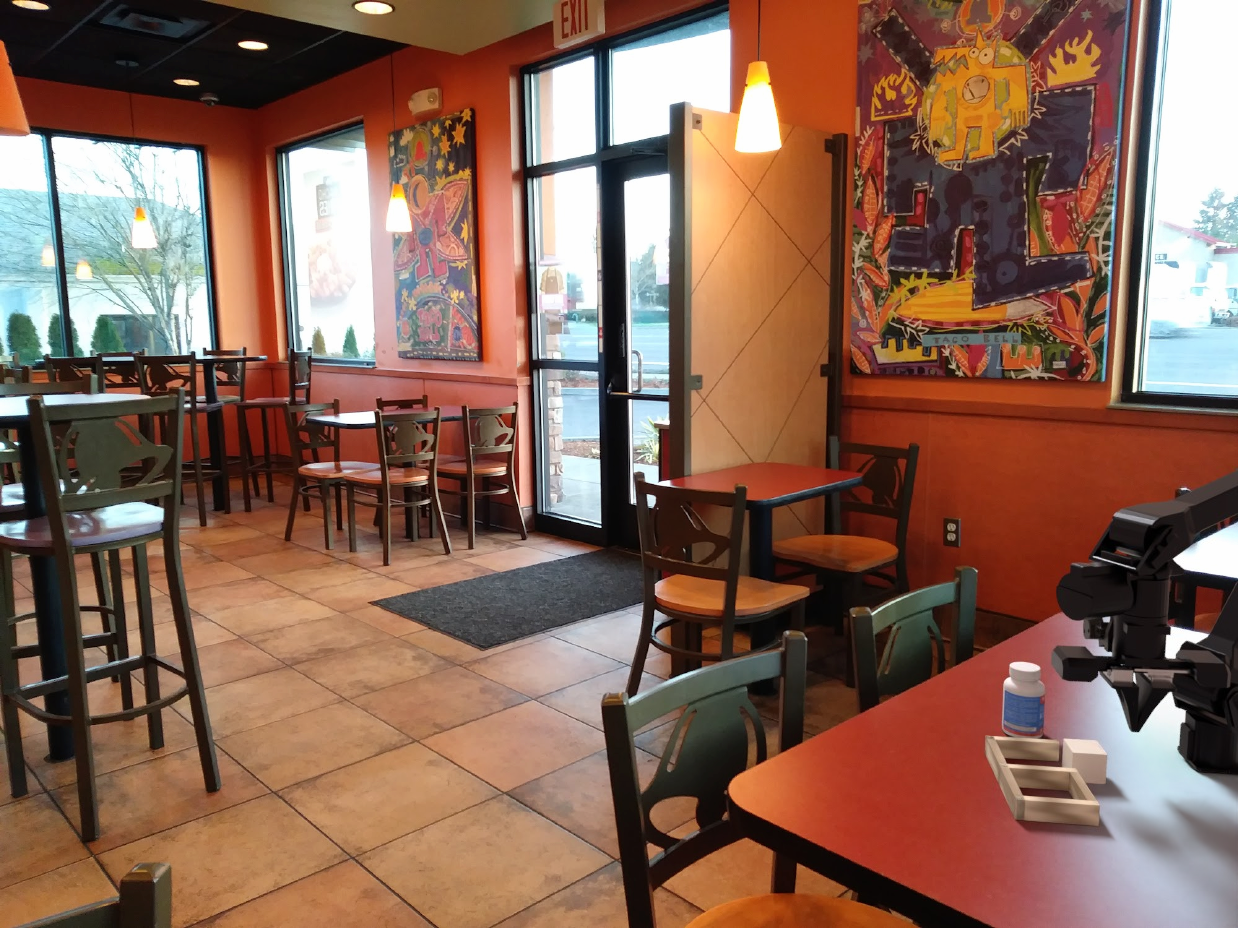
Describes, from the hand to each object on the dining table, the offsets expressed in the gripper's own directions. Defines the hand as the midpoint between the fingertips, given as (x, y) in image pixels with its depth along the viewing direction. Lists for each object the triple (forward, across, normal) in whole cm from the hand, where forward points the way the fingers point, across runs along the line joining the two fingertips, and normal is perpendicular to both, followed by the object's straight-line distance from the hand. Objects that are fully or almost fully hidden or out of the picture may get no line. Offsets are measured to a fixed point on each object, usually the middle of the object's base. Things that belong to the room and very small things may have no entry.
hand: (1133, 730), depth 112 cm
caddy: (+6, +12, +4) cm, 14 cm away
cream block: (+6, +6, 0) cm, 9 cm away
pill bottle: (+6, +10, -12) cm, 17 cm away
